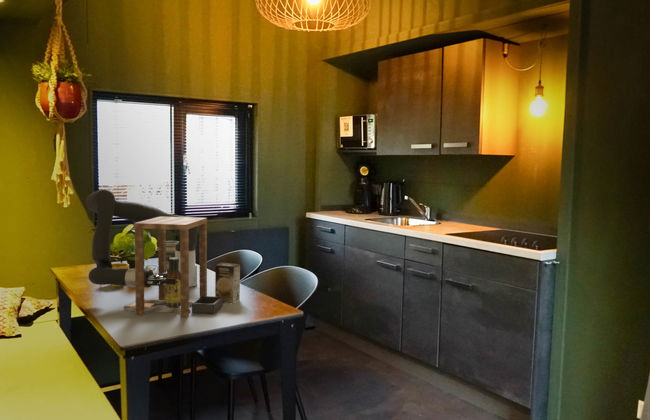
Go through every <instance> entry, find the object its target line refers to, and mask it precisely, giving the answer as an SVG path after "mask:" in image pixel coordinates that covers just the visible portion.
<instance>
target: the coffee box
mask: <svg viewBox="0 0 650 420" xmlns="http://www.w3.org/2000/svg"><path fill="white" fill-rule="evenodd" d="M214 269H215V273H214V275H215V278H214V280H215V282H214V283H215V285H214V290H215V291H214V294H215V295H214V297H223V303H224V304H230V305H234V304H236V303H238V302H239V301H240V300H241V299H240V295H241V294H240V293H241V291H240V289H241V288H240V287H241V264H239V263H228V262H221V263H217V264H216V265H215V267H214Z"/></svg>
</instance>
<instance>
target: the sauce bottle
mask: <svg viewBox="0 0 650 420" xmlns="http://www.w3.org/2000/svg"><path fill="white" fill-rule="evenodd" d="M178 269H179V258H177V257H172V258H169V270H168V272H166V273H167V274H166V279H167V278H169V279H176V284H175V285H173V284H166V285H165V304H164V305H165V307H166V308H179V307H181V305H180V301H181V282H180V271H179V270H178Z"/></svg>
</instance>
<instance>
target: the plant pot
mask: <svg viewBox="0 0 650 420" xmlns="http://www.w3.org/2000/svg"><path fill="white" fill-rule="evenodd" d="M112 268H113V269H130V264H129V263H126V262H125V263H124V262H115V263H112ZM110 287H113V288H115V287H117V288H119V287H120V286H119V285H110Z"/></svg>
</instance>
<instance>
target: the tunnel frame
mask: <svg viewBox="0 0 650 420" xmlns="http://www.w3.org/2000/svg"><path fill="white" fill-rule="evenodd" d="M133 224H134V225H133V227H134V228H133V229H134V269H135V287H134V288H135V302H136V306H129V305H124V306H123V310H124V311H135V316H143V315H145V312H157V313H158V312H159V313H177V314H178V313H180V318H186V319H188V317H190V314H191V308H190V306H191V307H192V303H193V302H194V301H195V300H194V301H193V300H190V292H189V291H190V287H189V229H190V228H193V227H196V226H197V227H198V229H199V234H198V235H199V237H198V239H199V240H198V241H199V246H198V247H199V248H198V249H199V263H198V264H199V298H200V297H201V296H208V272H207V271H208V262H207V261H208V259H207V258H208V255H207V254H208V252H207V251H208V239H207V238H208V232H207V231H208V226H207V225H208V217H191V216H186V217H161V216H160V217H156V218H153V219H149V220H145V221H141V222H137V223H135V222H133ZM145 229H147V230H157V250H158V251H157V252H158V261H157V262H158V267H157V268H158V269H157V270H158V272H157V273H161V272H165V273H167V272H166V241H167V240H166V239H167V238H166V237H167V232H166V231H167V230H166V229H170V230H180V235H179V240H180V282H181V301H180V308H179V307H161V306H159V307H157V306H151V307H144V302H146V303H156V304H155V305H165V285H163V286H158V299H151V298H150V299H149V298H148V299H147V298H145V287H144V269H145V259H144V258H145V257H144V256H145V253H144V249H145V248H144V247H145V246H144V230H145Z"/></svg>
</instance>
